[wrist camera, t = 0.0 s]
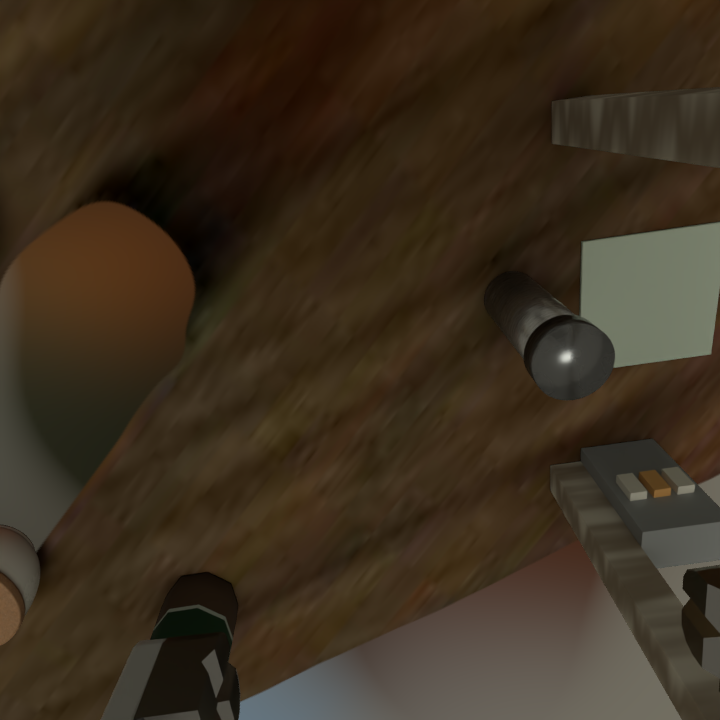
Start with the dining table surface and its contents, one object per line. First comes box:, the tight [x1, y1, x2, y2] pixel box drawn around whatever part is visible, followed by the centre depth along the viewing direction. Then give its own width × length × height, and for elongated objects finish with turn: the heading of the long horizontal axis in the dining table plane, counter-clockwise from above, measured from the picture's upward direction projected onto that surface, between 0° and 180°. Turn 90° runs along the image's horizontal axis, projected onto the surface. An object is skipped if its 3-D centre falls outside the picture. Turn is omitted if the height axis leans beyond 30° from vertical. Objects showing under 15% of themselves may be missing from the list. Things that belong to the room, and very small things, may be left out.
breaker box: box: [581, 439, 720, 568], centre depth 50 cm, size 5×7×12 cm
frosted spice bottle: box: [484, 271, 615, 400], centre depth 42 cm, size 5×5×14 cm
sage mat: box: [579, 222, 720, 368], centre depth 49 cm, size 12×12×1 cm
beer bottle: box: [150, 573, 238, 660], centre depth 50 cm, size 8×8×24 cm
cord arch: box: [550, 87, 720, 720], centre depth 33 cm, size 36×3×36 cm, turn 8°
